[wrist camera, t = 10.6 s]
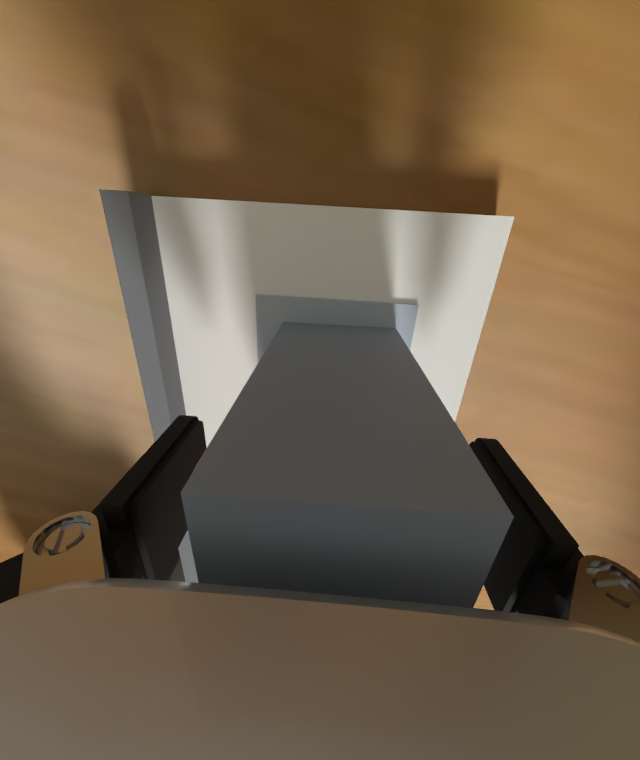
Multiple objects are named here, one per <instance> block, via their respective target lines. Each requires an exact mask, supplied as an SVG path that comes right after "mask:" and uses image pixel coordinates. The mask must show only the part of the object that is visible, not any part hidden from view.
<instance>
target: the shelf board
mask: <svg viewBox="0 0 640 760" xmlns="http://www.w3.org/2000/svg"><path fill="white" fill-rule="evenodd" d="M99 190H100V195H101V199H102V204H103V208H104V213H105V218H106V222H107V227H108V231H109V236H110V240H111V245H112V249H113V254H114V258H115V263H116V268H117V272H118V277H119V281H120V286H121V290H122V295H123V299H124V304H125V308H126V313H127V318H128V322H129V327H130V331H131V336H132V340H133V345H134V349H135V354H136V358H137V363H138V368H139V372H140V377H141V381H142V386H143V390H144V395H145V399H146V404H147V408H148V413H149V418H150V422H151V427H152V431H153V436H154V440H155V441H156V440H157V439H158V438H159V437H160V436H161V435H162V434H163V433H164V431H165V430H166V429H167V428H168V427H169V426H170V425H171V424H172V422H173V421H174V420H175V419H176V418H177V417H178V416H179V415H187V416H197V417H198V419H199V421H202V422H203V425H204V432H205V440H206V448H207V447H208V445H209V444H210V442H211V440H212V439H213V437H214V435H215V434H216V432H217V430H218V429H219V427H220V425H221V424H222V422H223V420H224V419H225V417H226V415H227V414H228V412H229V410H230V409H231V407H232V405H233V404H234V402H235V400H236V399H237V397H238V396H239V394H240V392H241V391H242V389H243V387H244V386H245V384H246V382H247V381H248V379H249V377H250V376H251V374H252V372H253V371H254V369H255V367H256V366H257V364H258V362H259V361H260V359H261V357H262V356H263V354H264V352H265V351H266V349H267V347H268V346H269V345H270V343H271V341H272V340H273V338H274V336H275V335H276V333H277V331H278V330H279V328H280V326H281V325H282V323H283V322H297V323H314V324H331V325H348V326H365V327H382V328H396V329H397V331H398V332H399V334H400V335H401V337H402V339H403V340H404V342H405V343H406V345H407V347H408V348H409V350H410V351H411V353H412V355H413V356H414V358H415V359H416V361H417V363H418V364H419V366H420V367H421V369H422V371H423V372H424V374H425V375H426V377H427V379H428V380H429V382H430V383H431V385H432V387H433V388H434V390H435V391H436V393H437V395H438V396H439V398H440V399H441V401H442V403H443V404H444V406H445V407H446V409H447V411H448V412H449V414H450V415H451V417H452V419H453V420H454V422H455V420H456V417H457V413H458V410H459V406H460V403H461V400H462V396H463V393H464V389H465V386H466V382H467V379H468V375H469V372H470V368H471V365H472V362H473V358H474V355H475V351H476V348H477V344H478V341H479V337H480V334H481V330H482V327H483V324H484V320H485V317H486V313H487V310H488V306H489V303H490V299H491V296H492V292H493V289H494V286H495V282H496V279H497V275H498V272H499V268H500V265H501V261H502V258H503V254H504V251H505V248H506V244H507V241H508V237H509V234H510V230H511V227H512V223H513V220H514V217H511V216H494V215H476V214H459V213H441V212H424V211H407V210H389V209H372V208H355V207H337V206H320V205H303V204H285V203H268V202H250V201H233V200H216V199H198V198H181V197H164V196H150V195H145V194H140V193H135V192H130V191H118V190H101V189H99ZM178 549H179V554H180V558H181V563H182V568H183V572H184V577H185V581H186V582H195V583H199V582H198V577H197V572H196V567H195V562H194V557H193V552H192V547H191V542H190V537H189V532H188V530H187V532H186V534H185V536H184V538H183V540H182V542H181V544H180V546H179V548H178Z"/></svg>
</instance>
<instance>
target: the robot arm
mask: <svg viewBox="0 0 640 760" xmlns="http://www.w3.org/2000/svg"><path fill="white" fill-rule="evenodd" d="M469 446H470V447H471V449H472V451H473V452H474V454H475V455H476V457H477V459H478V460H479V462H480V463H481V465H482V467H483V468H484V470H485V471H486V473H487V475H488V476H489V478H490V479H491V481H492V483H493V484H494V486H495V487H496V489H497V491H498V492H499V494H500V495H501V497H502V499H503V500H504V502H505V503H506V505H507V507H508V508H509V510H510V511H511V513H512V515H513V516H514V518H513V520H512V522H511V524H510V527H509V529H508V531H507V533H506V536H505V538H504V540H503V542H502V544H501V547H500V549H499V551H498V553H497V556H496V558H495V560H494V562H493V564H492V567H491V569H490V571H489V573H488V575H487V578H486V580H485V582H484V586H485V589H486V591H487V593H488V596H489V598H490V601H491V603H492V605H493V608H494V610H486V609H477V608H467V607H456V606H446V605H436V604H426V603H416V602H405V601H395V600H385V599H374V598H363V597H353V596H342V595H331V594H320V593H309V592H298V591H287V590H276V589H264V588H253V587H241V586H229V585H218V584H206V583H195V582H180V581H165V580H162V578H163V577H164V575H165V573H166V571H167V569H168V567H169V565H170V563H171V561H172V559H173V557H174V555H175V553H176V551H177V550H178V548H179V546H180V544H181V542H182V540H183V538H184V536H185V534H186V532H187V530H188V527H187V522H186V518H185V513H184V508H183V503H182V498H181V491H182V489H183V488H184V486H185V484H186V483H187V481H188V479H189V478H190V476H191V474H192V473H193V470H194V468H195V467H196V465H197V463H198V462H199V460H200V458H201V457H202V455H203V453H204V452H205V450H206V449H207V448H206V440H205V432H204V425H203V422H202V421H199V419H198V417H197V416H187V415H179V416H178V417H177V418H176V419H175V420H174V421H173V422H172V424H171V425H170V426H169V427H168V428H167V429H166V430H165V431H164V433H163V434H162V435H161V436H160V437H159V438H158V439H157V440H156V441H155V443H154V444H153V445H152V446H151V447H150V448H149V449H148V450H147V452H146V453H145V454H143V456H142V457H141V458H140V459H139V460H138V461H137V462H136V463H135V465H134V466H133V467H132V468H131V469H130V470H129V471H128V472H127V473H126V475H125V476H124V477H123V478H122V479H121V480H120V481H119V482H118V484H117V485H116V486H115V487H114V488H113V489H112V490H111V491H110V492H109V494H108V495H107V496H106V497H105V498H104V499H103V500H102V501H101V503H100V504H99V505H98V506H97V507H96V508H95V509H94V510H93V511H92V513H91V512H86V511H76V512H71V513H67V514H63V515H61V516H59V517H56V518H54V519H52V520H50V521H49V522H47V523H46V524H44V525H43V526H41V527H40V528H39V529H38V530H37V531H35V532H34V533H33V534H32V535H31V537H30V538H29V539H28V541H27V542H26V545H25V548H24V551H23V553H22V554H19V555H17V556H15V557H13V558H10V559H8V560H6V561H4V562H1V563H0V760H640V578H638V577H637V576H636V575H635V574H633V573H632V572H631V571H630V570H628V569H626V568H625V567H623V566H621V565H620V564H618V563H616V562H614V561H612V560H609V559H607V558H604V557H600V556H596V555H586V556H583V554H582V553H581V552H580V551H579V549H578V546H579V545H578V543H577V542H576V541H575V540H574V538H573V537H572V536H571V534H570V533H569V532H568V531H567V529H566V528H565V527H564V525H563V524H562V523H561V522H560V520H559V519H558V518H557V516H556V515H555V514H554V513H553V511H552V510H551V509H550V507H549V506H548V505H547V503H546V502H545V501H544V500H543V498H542V497H541V496H540V494H539V493H538V492H537V491H536V489H535V488H534V487H533V485H532V484H531V483H530V482H529V480H528V479H527V478H526V476H525V475H524V474H523V473H522V471H521V470H520V469H519V467H518V466H517V465H516V463H515V462H514V461H513V460H512V458H511V457H510V456H509V454H508V453H507V452H506V451H505V449H504V448H503V447H502V445H501V444H500V443H499V442H498V441H497V440H496V439H486V438H477V439H476V440H475V442H471V443H470V445H469Z"/></svg>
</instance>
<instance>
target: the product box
mask: <svg viewBox="0 0 640 760" xmlns="http://www.w3.org/2000/svg"><path fill="white" fill-rule="evenodd" d="M181 498H182V503H183V508H184V513H185V518H186V522H187V527H188V532H189V537H190V542H191V547H192V552H193V557H194V562H195V567H196V572H197V577H198V582H199V583H206V584H218V585H229V586H241V587H253V588H264V589H276V590H287V591H298V592H309V593H320V594H331V595H342V596H353V597H363V598H374V599H385V600H395V601H405V602H416V603H426V604H436V605H446V606H456V607H467V608H473V607H474V604H475V602H476V600H477V598H478V595H479V593H480V591H481V589H482V587H483V584H484V582H485V580H486V578H487V575H488V573H489V571H490V569H491V567H492V564H493V562H494V560H495V558H496V556H497V553H498V551H499V549H500V547H501V544H502V542H503V540H504V538H505V536H506V533H507V531H508V529H509V527H510V524H511V522H512V520H513V518H514V516H513V515H512V513H511V511H510V510H509V508H508V507H507V505H506V503H505V502H504V500H503V499H502V497H501V495H500V494H499V492H498V491H497V489H496V487H495V486H494V484H493V483H492V481H491V479H490V478H489V476H488V475H487V473H486V471H485V470H484V468H483V467H482V465H481V463H480V462H479V460H478V459H477V457H476V455H475V454H474V452H473V451H472V449H471V447H470V446H469V444H468V443H467V441H466V439H465V438H464V436H463V435H462V433H461V431H460V430H459V428H458V427H457V425H456V423H455V422H454V420H453V419H452V417H451V415H450V414H449V412H448V411H447V409H446V407H445V406H444V404H443V403H442V401H441V399H440V398H439V396H438V395H437V393H436V391H435V390H434V388H433V387H432V385H431V383H430V382H429V380H428V379H427V377H426V375H425V374H424V372H423V371H422V369H421V367H420V366H419V364H418V363H417V361H416V359H415V358H414V356H413V355H412V353H411V351H410V350H409V348H408V347H407V345H406V343H405V342H404V340H403V339H402V337H401V335H400V334H399V332H398V331H397V329H396V328H382V327H365V326H348V325H331V324H314V323H297V322H283V323H282V325H281V326H280V328H279V330H278V331H277V333H276V335H275V336H274V338H273V340H272V341H271V343H270V345H269V346H268V347H267V349H266V351H265V352H264V354H263V356H262V357H261V359H260V361H259V362H258V364H257V366H256V367H255V369H254V371H253V372H252V374H251V376H250V377H249V379H248V381H247V382H246V384H245V386H244V387H243V389H242V391H241V392H240V394H239V396H238V397H237V399H236V400H235V402H234V404H233V405H232V407H231V409H230V410H229V412H228V414H227V415H226V417H225V419H224V420H223V422H222V424H221V425H220V427H219V429H218V430H217V432H216V434H215V435H214V437H213V439H212V440H211V442H210V444H209V445H208V447H207V449H206V450H205V452H204V453H203V455H202V457H201V458H200V460H199V462H198V463H197V465H196V467H195V468H194V470H193V473H192V474H191V476H190V478H189V479H188V481H187V483H186V484H185V486H184V488H183V489H182V491H181Z"/></svg>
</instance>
